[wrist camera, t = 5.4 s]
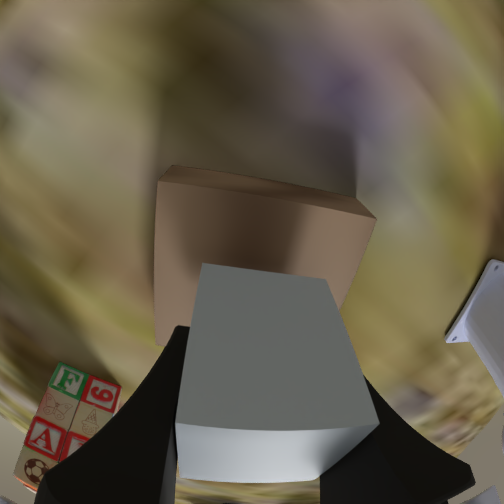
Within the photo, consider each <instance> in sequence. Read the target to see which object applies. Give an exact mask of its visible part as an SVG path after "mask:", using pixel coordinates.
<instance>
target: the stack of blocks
mask: <svg viewBox="0 0 504 504" xmlns="http://www.w3.org/2000/svg"><path fill="white" fill-rule="evenodd" d="M121 390H122V387H121V386H118V385H115V384H113V383H110V382H107V381H105V380H102V379H99V378H97V377H94V376H92V375H89V374H86V373H84V372H82V371H79V370H77V369H75V368H72V367H70V366H68V365H66V364H64V363H62V362H59V363H58V365H57V367H56V369H55V371H54V373H53V375H52V377H51V379H50V381H49V383H48V388H47V390H46V392H45V394H44V396H43V398H42V401H41V403H40V405H39V408H38V410H37V412H36V415H35V416H34V417H33V420H32V422H31V425H30V427H29V430H28V432H27V435H26V438H25V440H24V445H23V447H22V450H21V453H20V455H19V458H18V461H17V464H16V467H15V470H14V473H13V476H14V477H16V478H17V479H18V480H19V481H21V482H22V483H23V485H24V486H25V487H26V488H28V489H29V490H30V491H32V492H34V493H37V489H38V486H39V484H40V482H41V479H42V477H43V475H44V474H45V472H46V471H48V470H49V469H51V468H52V467H54V466H55V465H57V464H58V463H60V462H61V461H62V460H64V459H65V458H67V457H68V456H70V455H71V454H72V453H74V452H75V451H76V450H77V449H78V448H80V447H81V446H82V445H83V444H84V443H86V442H87V441H88V440H89V439H90V438H91V437H93V436H94V435H95V434H96V433H97V432H98V431H99V430H100V429H101V428H102V427H103V426H104V425H105V424H106V423H107V422H108V421H109V420H110V419H111V418H112V417H113V416H114V415H115V414H116V413H117V412H118V407H119V402H120V396H121Z"/></svg>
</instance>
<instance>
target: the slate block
mask: <svg viewBox="0 0 504 504" xmlns="http://www.w3.org/2000/svg"><path fill="white" fill-rule="evenodd" d="M379 424H380V423H379V420H378V417H377V414H376V411H375V408H374V405H373V402H372V399H371V396H370V393H369V390H368V387H367V385H366V382H365V379H364V376H363V373H362V370H361V368H360V365H359V362H358V359H357V357H356V354H355V351H354V349H353V346H352V343H351V341H350V338H349V336H348V333H347V330H346V328H345V325H344V323H343V320H342V318H341V315H340V312H339V310H338V307H337V305H336V303H335V300H334V298H333V295H332V293H331V290H330V288H329V285H328V283H327V281H326V279H322V278H313V277H305V276H297V275H290V274H282V273H274V272H266V271H259V270H251V269H244V268H236V267H229V266H222V265H214V264H207V263H202V268H201V273H200V278H199V283H198V288H197V293H196V298H195V303H194V309H193V314H192V320H191V325H190V331H189V336H188V342H187V348H186V354H185V360H184V366H183V373H182V379H181V386H180V392H179V399H178V406H177V413H176V421H175V427H176V440H177V452H178V463H179V473H180V477H181V478H189V479H197V480H207V481H220V482H241V483H274V482H295V481H308V480H315V479H316V478H317V477H319V476H320V475H321V474H323V473H324V472H325V471H326V470H328V469H329V468H330V467H332V466H333V465H334V464H335V463H336V462H338V461H339V460H340V459H341V458H343V457H344V456H345V455H346V454H347V453H348V452H350V451H351V450H352V449H353V448H354V447H355V446H356V445H357V444H359V443H360V442H361V441H362V440H363V439H364V438H365V437H366V436H367V435H368V434H369V433H370V432H372V431H373V430H374V429H375V428H376V427H377V426H378V425H379Z"/></svg>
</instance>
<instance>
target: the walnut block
mask: <svg viewBox="0 0 504 504" xmlns="http://www.w3.org/2000/svg"><path fill="white" fill-rule="evenodd" d="M376 221H377V219H376V218H375V217H374V216H373V215H372V213H371V212H370V211H369V210H368V209H367V208H366V207H365V206H364V205H363V204H362V203H361V202H359V201H358V200H357V199H356V198H353V197H349V196H344V195H340V194H336V193H331V192H327V191H322V190H318V189H313V188H308V187H303V186H298V185H293V184H288V183H283V182H278V181H272V180H267V179H261V178H256V177H250V176H244V175H238V174H231V173H225V172H218V171H211V170H204V169H197V168H189V167H181V166H173V165H172V166H171V167H170V168H169V169H168V171H167V172H166V173H165V174H164V175H163V176H162V177H161V178H160V179H159V180H158V184H157V198H156V215H155V239H154V316H155V340H156V345H160V346H166V345H167V343H168V341H169V339H170V337H171V335H172V333H173V331H174V328H175V327H176V326H178V325H182V326H188V327H190V325H191V320H192V314H193V309H194V303H195V298H196V293H197V288H198V283H199V278H200V273H201V268H202V263H207V264H214V265H222V266H229V267H236V268H244V269H251V270H259V271H266V272H274V273H282V274H290V275H297V276H305V277H313V278H322V279H326V281H327V283H328V285H329V288H330V290H331V293H332V295H333V298H334V300H335V303H336V305H337V307H338V310H339V311H340V309H341V306H342V304H343V302H344V300H345V297H346V295H347V293H348V291H349V288H350V286H351V284H352V281H353V279H354V277H355V274H356V272H357V270H358V267H359V265H360V262H361V260H362V257H363V255H364V252H365V250H366V247H367V245H368V242H369V239H370V237H371V234H372V231H373V229H374V226H375V223H376Z"/></svg>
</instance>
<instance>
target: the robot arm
mask: <svg viewBox="0 0 504 504" xmlns="http://www.w3.org/2000/svg"><path fill="white" fill-rule="evenodd" d="M189 331H190V327H188V326H182V325H178V326H176V327H175V328H174V331H173V333H172V335H171V337H170V339H169V341H168V343H167V345H166V346H165V348H164V350H163V352H162V353H161V355H160V357H159V358H158V360H157V361H156V363H155V364H154V366H153V367H152V369H151V370H150V372H149V373H148V375H147V376H146V377H145V379H144V380H143V381H142V383H141V384H140V385H139V387H138V388H137V389H136V391H135V392H134V393H133V395H132V396H131V397H130V398H129V399H128V401H127V402H126V403H125V404H124V405H123V406H122V408H121V409H120V410H119V411H118V412H117V413H116V414H115V415H114V416H113V417H112V418H111V419H110V420H109V421H108V422H107V423H106V424H105V425H104V426H103V427H102V428H101V429H100V430H99V431H98V432H97V433H96V434H95V435H94V436H93V437H91V438H90V439H89V440H88V441H87V442H86V443H84V444H83V445H82V446H81V447H80V448H78V449H77V450H76V451H75V452H74V453H72V454H71V455H70V456H68V457H67V458H65V459H64V460H62V461H61V462H60V463H58V464H57V465H55V466H54V467H52V468H51V469H49V470H48V471H46V472H45V474H44V475H43V477H42V479H41V482H40V484H39V486H38V489H37V493H36V497H35V502H34V504H174V500H175V483H176V470H177V458H178V452H177V440H176V427H175V421H176V413H177V406H178V399H179V392H180V386H181V379H182V373H183V366H184V360H185V354H186V348H187V342H188V336H189ZM445 341H446V343H454V342H468V341H470V343H471V344H472V346H473V347H474V349H475V350H476V352H477V353H478V355H479V357H480V358H481V360H482V361H483V363H484V365H485V366H486V368H487V369H488V371H489V373H490V374H491V376H492V378H493V379H494V381H495V383H496V384H497V386H498V388H499V390H500V391H501V393H502V395H503V397H504V262H502V261H498V260H495V259H492V260H490V261H489V262H488V264H487V266H486V268H485V270H484V272H483V274H482V276H481V278H480V279H479V281H478V283H477V285H476V287H475V289H474V291H473V292H472V294H471V296H470V298H469V299H468V301H467V303H466V305H465V306H464V308H463V310H462V311H461V313H460V314H459V316H458V318H457V319H456V321H455V322H454V324H453V326H452V327H451V329H450V330H449V332H448V333H447V335H446V336H445ZM363 376H364V375H363ZM364 379H365V382H366V385H367V387H368V390H369V393H370V396H371V399H372V402H373V405H374V408H375V411H376V414H377V417H378V420H379V423H380V424H379V425H378V426H377V427H376V428H375V429H374V430H373V431H372V432H370V433H369V434H368V435H367V436H366V437H365V438H364V439H363V440H362V441H361V442H360V443H359V444H357V445H356V446H355V447H354V448H353V449H352V450H351V451H350V452H348V453H347V454H346V455H345V456H344V457H343V458H341V459H340V460H339V461H338V462H336V463H335V464H334V465H333V466H332V467H330V468H329V469H328V470H326V471H325V472H324V473H323V474H321V475H320V504H448V501H447V500H448V499H450V498H452V497H454V496H456V495H458V494H459V493H462V492H463V491H465V490H467V489H468V488H470V487H472V486H474V485H475V483H476V482H475V479H474V476H473V473H472V470H471V467H470V465H469V464H467V463H465V462H463V461H461V460H459V459H457V458H455V457H453V456H451V455H450V454H448V453H446V452H445V451H443V450H442V449H440V448H438V447H437V446H435V445H434V444H433V443H431V442H430V441H428V440H427V439H426V438H424V437H423V436H422V435H421V434H419V433H418V432H417V431H416V430H414V429H413V428H412V427H411V426H410V425H409V424H408V423H406V422H405V421H404V420H403V419H402V418H401V417H400V416H399V415H398V414H397V413H396V412H395V411H394V410H393V409H392V408H391V407H390V406H389V405H388V403H387V402H386V401H385V400H384V399H383V398H382V397H381V396H380V395H379V393H378V392H377V391H376V390H375V389H374V387H373V386H372V385H371V384H370V382H369V381H368V380H367V379H366V377H365V376H364ZM503 415H504V413H503ZM502 449H503V454H504V426H503V431H502ZM0 504H17V503H15V502H13V501H12V500H10V499H8V498H6V497H4V496H2V495H0ZM461 504H501V503H500V499H499V496H498V493H497V490H496V487H495V485H493V486H491V487H490V488H488V489H486V490H484V491H483V492H481V493H480V494H478V495H476V496H475V497H473V498H471V499H469V500H467V501H464V502H463V503H461Z"/></svg>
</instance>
